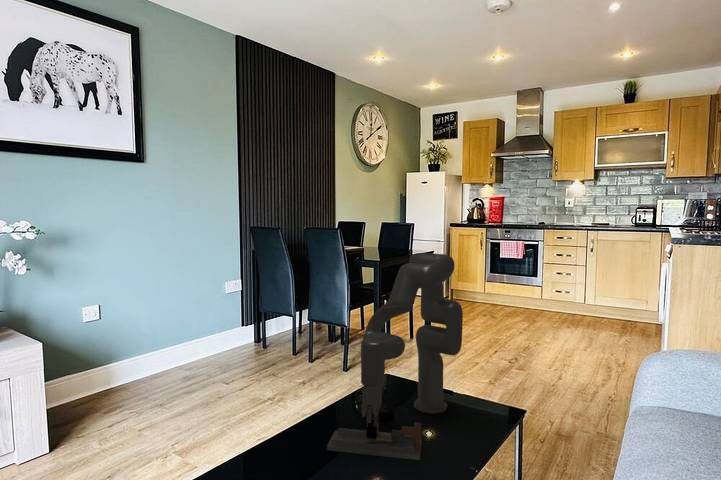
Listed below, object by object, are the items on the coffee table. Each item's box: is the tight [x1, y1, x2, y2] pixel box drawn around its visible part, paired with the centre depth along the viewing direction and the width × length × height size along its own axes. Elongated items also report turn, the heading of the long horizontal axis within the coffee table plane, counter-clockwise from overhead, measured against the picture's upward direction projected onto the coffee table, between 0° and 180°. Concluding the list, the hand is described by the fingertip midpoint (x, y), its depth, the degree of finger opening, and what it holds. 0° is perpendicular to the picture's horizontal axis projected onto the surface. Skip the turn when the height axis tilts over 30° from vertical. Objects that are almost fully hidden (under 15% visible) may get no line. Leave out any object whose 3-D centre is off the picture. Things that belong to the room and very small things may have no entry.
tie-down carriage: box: [367, 418, 405, 444], centre depth 139 cm, size 5×12×7 cm, turn 78°
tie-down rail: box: [326, 422, 423, 461], centre depth 140 cm, size 10×29×8 cm, turn 78°
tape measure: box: [379, 404, 395, 422], centre depth 160 cm, size 7×7×4 cm
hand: (372, 433), depth 140 cm, fingers closed on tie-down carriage, 4 cm apart
